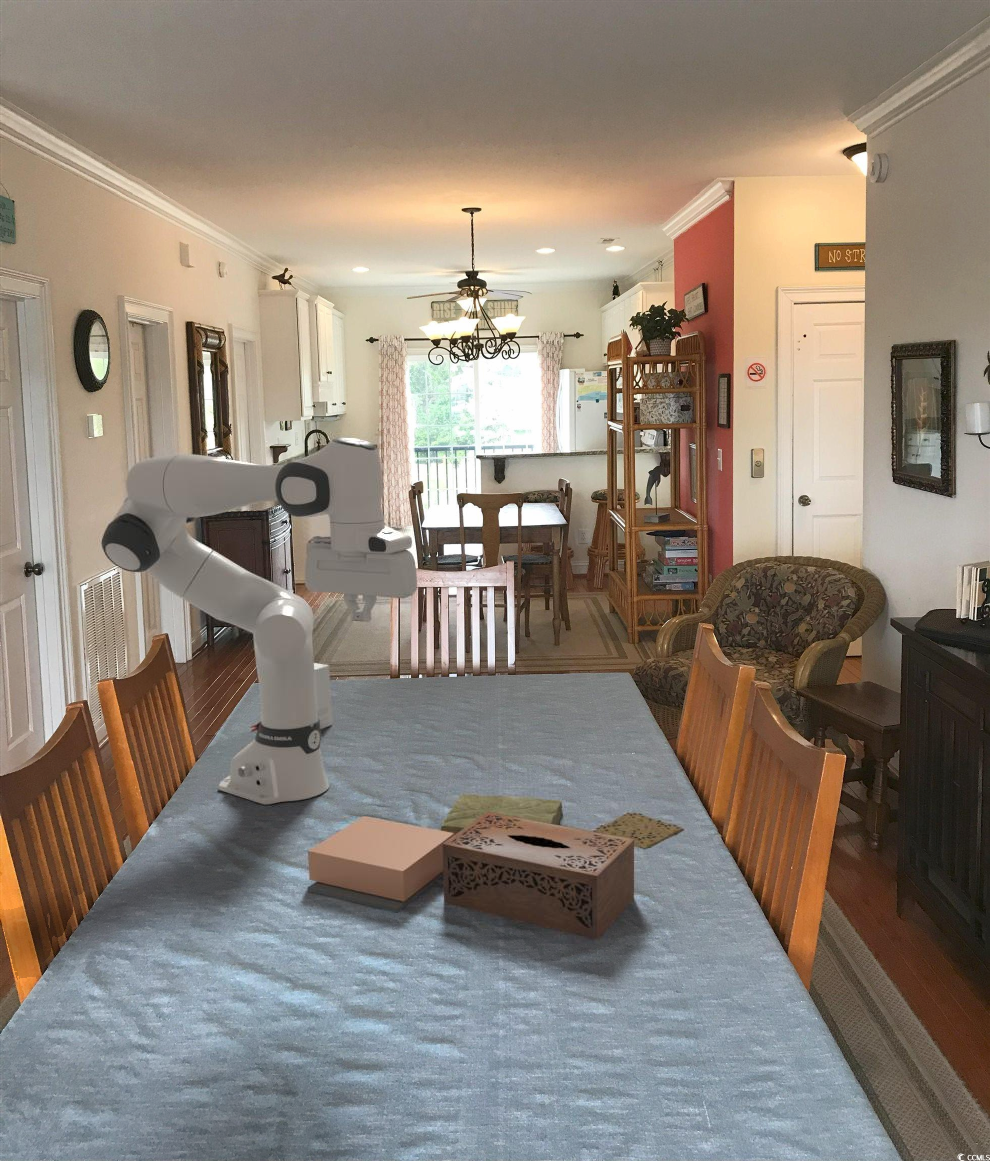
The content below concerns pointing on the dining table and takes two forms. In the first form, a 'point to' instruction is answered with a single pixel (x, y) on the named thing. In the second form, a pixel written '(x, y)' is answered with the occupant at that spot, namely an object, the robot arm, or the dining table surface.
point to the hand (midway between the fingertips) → (361, 621)
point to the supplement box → (323, 695)
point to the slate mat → (367, 895)
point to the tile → (379, 858)
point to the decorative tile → (500, 810)
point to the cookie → (640, 829)
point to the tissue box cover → (540, 873)
